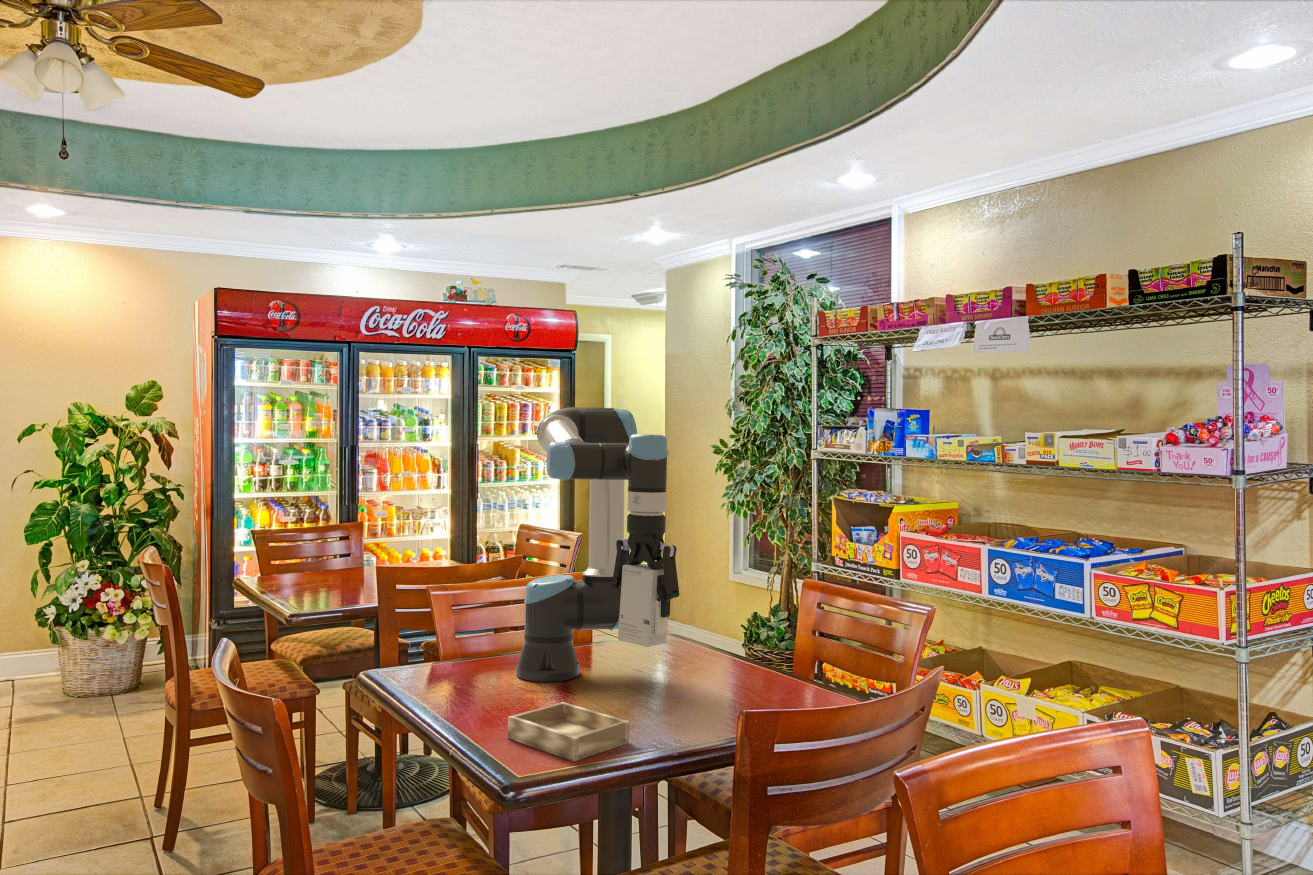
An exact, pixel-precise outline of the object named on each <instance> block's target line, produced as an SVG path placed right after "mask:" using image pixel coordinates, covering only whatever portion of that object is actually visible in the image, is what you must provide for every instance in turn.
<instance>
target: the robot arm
mask: <svg viewBox="0 0 1313 875" xmlns="http://www.w3.org/2000/svg"><path fill="white" fill-rule="evenodd" d="M637 429H638V428H637V424H636V419H635V418H634V415H633V413H632V412H631V411H630V410H628V409H625V408H615V407H577V406H576V407H575V406H570V407H565V408H560V409H558V410H554V411H553V412H550V413H548V414H547V415H545V417H543V418H542V420H541V422H540V423H539V425H538V426H537V432H536V438H537V441H538V443H539V446H540V448H541V449H542V450H544V452H546V472H547V473H546V474H547V476H548V477H549V478H550V479H552V480H553V479H556V480H562V481H568V480H589V508H588V509H589V512H588V514H589V516H588V518H589V521H588V522H589V526H588V566H587V568H586V569H585V570H584V571H583V572H582V577H581V578H582V580H581V581H576V580H575V577H574V576H573V575H570V574H562V575H561V574H556V575H549V576H544V577H538V578H535V579H533V580H531V581H529V582H528V583H527V585H526V587H525V597H524V600H523V601H524V605H525V607H524V610H525V611H524V612H525V613H524V632H523V633H524V635H523V636H524V637H523V638H524V642H523V646H522V647H521V648H522V649H521V652H520V654H519V658H518V661H517V663H516V668H515V675H516V677H518V678H519V679H521V680H525V681H530V682H541V683H552V682H555V683H556V682H564V681H569V680H571V679H572V680H573V679H575V678H577V677H579V676H580V669H581V668H580V663H579V660H578V656H577V652H576V649H575V645H574V637H573V636H574V631H586V630H587V631H590V630H591V631H592V630H596V631H597V630H610V631H613V630H618V627H619V614H620V599H621V585H622V570H623V565H639V564H643V562H644V563H646V564H647V565H648V567H650V569H653V570H662V569H663V570H664V575H658V576H657V593H658V596H659V598H658V599H657V600H656V610H655V635H661V634H665V633H667V634H668V625H667V617H668V618H669V617H670V616H671V600H673V599H675V598H680V588H679V578H678V572H677V561H676V556H677V546H676V545H674V544H673V545H672V544H671V545H669V544H666V542H665V541H664V534H665V533H666V522H667V520H666V518H667V517H666V516H665V515H664V513H666V511H667V480H668V478H667V477H668V476H667V474H668V472H667V471H668V456H669V451H668V438H667V437H666V436H665V435H663V434H646V433H645V434H644V433H643V434H640V433H639V434H638V430H637ZM625 481H627V482H628V483H627V484H628V485H627V486H628V487H627V511H628V512H630V513H629V514H628V515H627V516H626V532H627V533H628V534H629V535H628V538H625ZM664 592H665V594H664Z"/></svg>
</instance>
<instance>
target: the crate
mask: <svg viewBox="0 0 1313 875" xmlns="http://www.w3.org/2000/svg"><path fill="white" fill-rule="evenodd" d="M507 739H509V740H512V741H514V742H517V743H520V744H523V745H525V746H529V747H531V748H535V749H537V750H539V751H543V752H545V753H548V754H552V755H555V756H558V757H560V758H562V759H565V760H568V761H571V762H573V763H574V762H577V761H580V760H583V759H586V758H590V757H592V756H595V755H597V754H601V753H604V752H607V751H610V750H612V749H615V748H618V747H621V746H624V745H627V744H630V720H626V719H623V718H619V717H616V716H613V715H611V714H610V715H609V714H606V713H603V712H599V711H596V710H593V709H588V708H586V707H582V706H579V705H575V704H572V703H568V702H566V701H565V702H564V701H562V702H558V703H557V702H556V703H554V704H551V705H547V706H542V707H539V708H536V709H532V710H531V709H530V710H528V711H523V712H521V713H517V714H512V715H510V716H508V717H507Z"/></svg>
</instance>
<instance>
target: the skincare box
mask: <svg viewBox="0 0 1313 875" xmlns="http://www.w3.org/2000/svg"><path fill="white" fill-rule="evenodd" d="M658 575H664V570H663V569H662V570H653V569H650V567H648V565H647V563H641V564H639V565H623V570H622V585H621V599H620V614H619V627H618V629H617V630H618V632H617V640H618V641H619V642H623V643H629V644H634V645H639V646H642V647H644V648H651V647H655V646H659V645H663V644H664V645H665V644H667V640H668V639H667V638H668V632H667V633H665V634H661V635H655V610H656V600H657V599H658V598H659V596H658V593H657V576H658ZM664 594H665V592H664ZM668 620H669V617H667V626H668V625H669V624H668V623H669V621H668Z"/></svg>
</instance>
